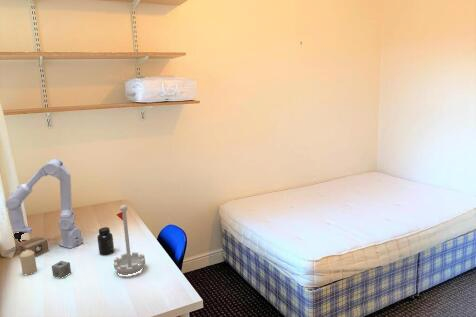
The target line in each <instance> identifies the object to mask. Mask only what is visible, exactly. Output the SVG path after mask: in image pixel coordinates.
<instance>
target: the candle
mask: <svg viewBox="0 0 476 317" xmlns="http://www.w3.org/2000/svg"><path fill="white" fill-rule="evenodd" d="M19 259H20V260H19V261H20V266H21V271H22V275H24V274H30V275H32V274H31V273H33V274H35V273H36V272H37V270H38V266H37V262H36V257H35V255H34V252H33V251H31V250H26V251H23V252H22V253H21V254H20V256H19ZM34 272H35V273H34Z"/></svg>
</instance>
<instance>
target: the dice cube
mask: <svg viewBox="0 0 476 317" xmlns="http://www.w3.org/2000/svg"><path fill="white" fill-rule="evenodd" d="M71 268H72V267H71V263H70V262H69V261H64V260H60V261H58V262H56V263H55V264H52V265H51V271H52V277H53V276H55V277H54V278H56V277H60V278H59V279H61V278H62V277H64V276H66V275H67V276H68V274H69V273H70V274H71V273H72V269H71ZM70 274H69V275H70ZM67 276H66V277H67ZM64 278H65V277H64ZM62 279H63V278H62Z"/></svg>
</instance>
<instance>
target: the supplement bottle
mask: <svg viewBox="0 0 476 317" xmlns="http://www.w3.org/2000/svg"><path fill="white" fill-rule="evenodd" d="M97 244H98V245H97V246H98V252H99V254H100V256H108V255H111V253H112V254H113V253H114V251H115V246H114V245H115V244H114V236H113V234H112V232H111V231H110V227H108V226H104V227H101V228H99V229H98V235H97Z"/></svg>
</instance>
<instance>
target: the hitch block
mask: <svg viewBox="0 0 476 317" xmlns="http://www.w3.org/2000/svg"><path fill="white" fill-rule="evenodd" d="M27 240H28V241H25V242H23V243H20V244H18V243H17V245H16V246H17V249H18V257H20V254H21V253H22V252H23V251H26V250H31V251H33V252H34V255H35V258H36V257H39V256H41V255H42V254H45V253H47V252H49V251H50V248H49V242H48V239H46V238H43V237H40V236H35V237H33V238H32V237H31V239H27ZM36 246H39V247H41V250H40V251H35V247H36Z"/></svg>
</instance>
